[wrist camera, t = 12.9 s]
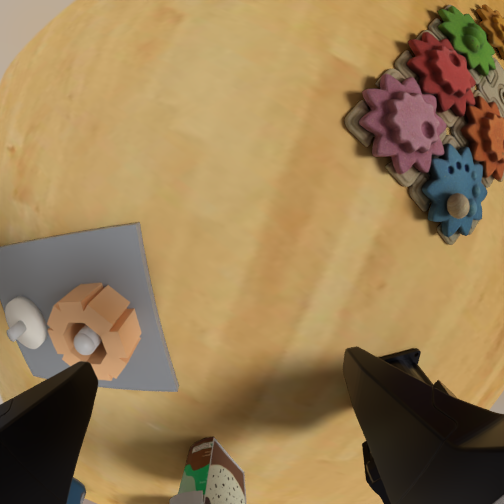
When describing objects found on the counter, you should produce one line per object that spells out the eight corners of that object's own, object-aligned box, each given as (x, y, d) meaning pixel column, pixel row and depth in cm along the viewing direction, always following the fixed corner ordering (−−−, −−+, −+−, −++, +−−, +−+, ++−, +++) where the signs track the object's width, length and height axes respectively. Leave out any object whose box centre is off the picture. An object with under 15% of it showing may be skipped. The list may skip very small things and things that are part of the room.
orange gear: (127, 280, 19) (108, 300, 16) (149, 355, 21) (137, 382, 18) (60, 285, 19) (37, 302, 16) (84, 353, 21) (68, 376, 18)
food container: (159, 435, 25) (142, 505, 16) (207, 429, 25) (200, 508, 15) (206, 481, 29) (202, 538, 19) (248, 476, 28) (250, 536, 19)
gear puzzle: (462, -18, 12) (480, -28, 8) (535, 81, 15) (555, 79, 11) (331, 122, 18) (352, 112, 14) (448, 257, 21) (476, 272, 17)
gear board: (139, 222, 19) (109, 238, 14) (179, 385, 23) (169, 425, 18) (-9, 248, 19) (-41, 263, 14) (36, 372, 23) (16, 397, 18)
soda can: (51, 467, 31) (33, 507, 19) (75, 475, 31) (58, 520, 19) (69, 484, 33) (54, 523, 21) (93, 492, 33) (80, 533, 21)
